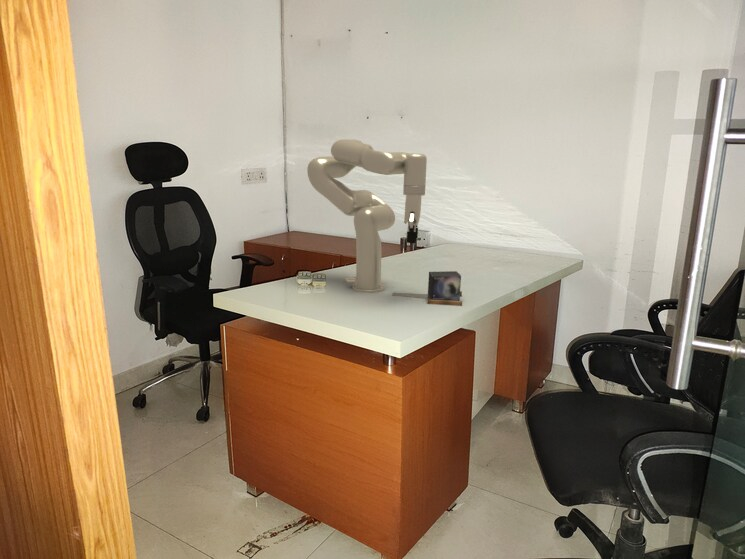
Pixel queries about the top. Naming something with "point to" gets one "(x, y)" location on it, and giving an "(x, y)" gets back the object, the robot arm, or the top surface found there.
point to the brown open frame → (445, 302)
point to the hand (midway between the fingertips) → (412, 240)
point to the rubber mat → (410, 295)
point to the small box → (444, 286)
